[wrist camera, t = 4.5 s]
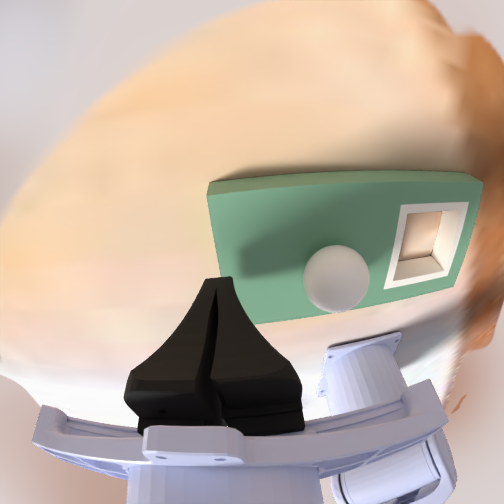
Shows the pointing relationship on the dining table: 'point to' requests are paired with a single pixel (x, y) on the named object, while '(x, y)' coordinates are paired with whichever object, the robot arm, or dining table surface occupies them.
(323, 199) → the green
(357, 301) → the ball
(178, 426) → the robot arm
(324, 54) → the dining table surface
